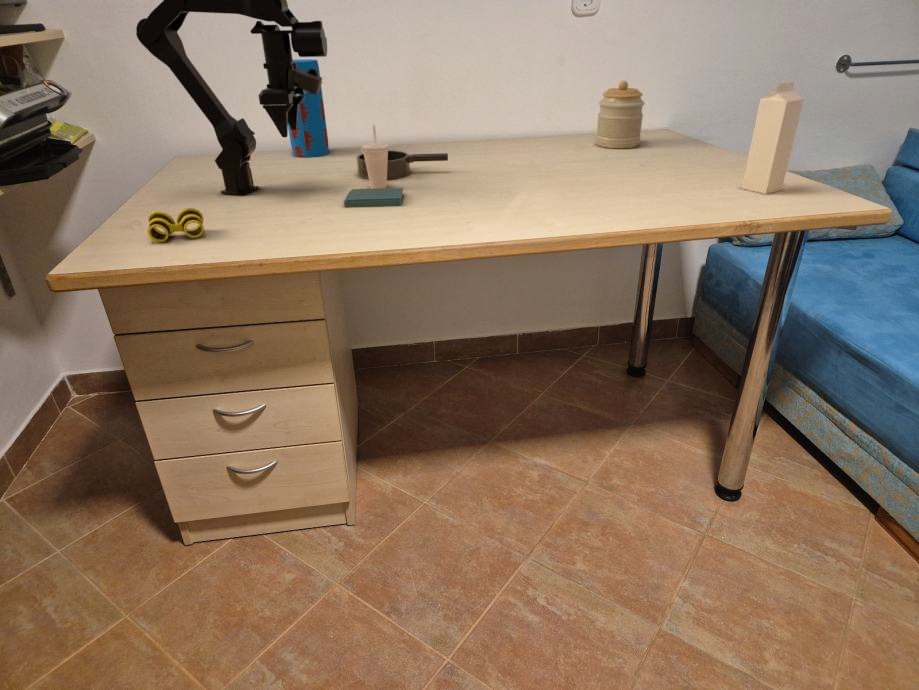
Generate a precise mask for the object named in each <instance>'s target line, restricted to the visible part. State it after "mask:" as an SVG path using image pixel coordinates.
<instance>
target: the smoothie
mask: <svg viewBox="0 0 919 690" xmlns="http://www.w3.org/2000/svg"><path fill="white" fill-rule="evenodd" d="M372 135H373V142H370V143H364V144H362V145H361V152H362V154H363V153H364V158H365V163H366V167H367V172H368V177H369V180H368V181H369V185H370V189H377V188H388V187H387V184H388V183H387V182H388V180H387V162H388V151H390V145H389V144H388V143H385V142H377V129H376V125H375V124H373V125H372Z"/></svg>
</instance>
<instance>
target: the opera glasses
mask: <svg viewBox="0 0 919 690" xmlns="http://www.w3.org/2000/svg"><path fill="white" fill-rule="evenodd" d="M147 222H148V229H147V235H148V237H149V238H150V239H151V240H152V241H154V242H156V243H164V242H166V241H167V240H168V238H169V237H170V236H171V235H172V234H174V233H176V232H181V233H182V232H183V233H185V235H186V236H187V237H189V238H192V239H195V238H196V239H197V238H199V237H201V236H202V235H203V234H204V232H205V227H204V216H203V213H202V212H201V211H200V210H199V209H198V208H195V207H186V208H183V209H182V210H181V211H179V213H178V214H177V217H176V221H175V219H174V218H173V217H172V215H170V214H169V213H167V212H165V211H159V210H158V211H157V210H156V211H153V212H152V213H150V214H149V216H148V219H147ZM190 224H197V225H196V226H195V227H193V228H187V227H188V226H189V225H190ZM158 228H159V229H158ZM160 229H162V230H160Z"/></svg>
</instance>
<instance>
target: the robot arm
mask: <svg viewBox="0 0 919 690" xmlns="http://www.w3.org/2000/svg"><path fill="white" fill-rule="evenodd" d="M190 13H203V14H204V13H205V14H206V13H209V14H230V15H232V14H233V15H241V16H245V17H248V18H252V19H256V22H255V24H254V26H253V27H252V28H251V29H250V34H252V35H261V40H262V47H263V54H264V60H265V62H264V63H262V65H263V70H264V69H265V70H266V75H267V81H268V83H267V84H266V88H264V89H261V91H260V92H259V93H258V101H259V105H261V106H262V109H264V110H265V112H266V113H267V115H268V116H269V118H270V120H271V121H272V122H273V124H274V126H275V128H276V129H277V131H278V133H279V134H280V136H281V137H282V138H287V137H288V136H289V135H288V134H289V129H288V124H289V126H290V128H291V129H292V130H296V129H297V118H298V108H299V104H300V103H301V101H302V100H303V99H304V98H305V96H299V94H302V95H305V94H307V93H306V91H309V93H312V94H315V95H316V94H317V93H319V91H320V87H321V88H322V84H323V78H322V76H320V77H319V73H318V70H316V69H313V68H311V69H310V70H309V71H308V72H306V71H301V70H298V69H297V63H295V62H293V60H294V59H293V52H294V53H297V55H298V57H300V58H319V57H320V58H321V57H323V58H325V57H327V56H328V38H327V37H326V32H325V29H324V27H323V26H324V25H323V21H322V20H313V21H299V20H298V18H296V16H295V15H294V13H293V12H292V10H290V8H289V4H288V1H287V0H162V1H161V2H160V3H159V4H158V5H157V6H156V7H155V8H154V9H153V10H152V11H151V12H150V13H149V15H148V16H147V17H145V18H142V19H140V20H139V21H138V22H137V25H136V28H135V29H136V31H135V34H136V38H137V40H138V41H139V43H140V44H141V45H142V46H143V47H144V48H145V49H146V50H147V51H148V52H149V53H150V54H151V55H152V56H153V57H155V58H156V59H157V60H159V61H160V62H161V63H163V65H165V66H167V67H168V68H169V70H170V71H171V72H172V74H173V75H174V76H175V78H176V79H177V80H178V82H179V83H180V85H181V86H182V87H183V89H184V90H185V91H186V93H187V94H188V95H189V97H190V98H191V99H192V101H194V103H195V104H196V105H197V107H198V108H199V110H200V111H201V112H202V113H203V115H204V117H206V119H207V120H208V122H210V124H211V125H212V128H213V130H214V132H215V136H216V139H217V142H218V143H219V146H220V147H221V149H222V150H221V151H220V152H219V154H218V155H217V156H216V158H215V159H214V162H215V164H216V166H217V167H218V169H219V170H221V174H222V179H223V184H224V188H225V189H222V190H221V191H220V193H221V194H222V195H223V194H224V195H234V196H235V195H237V196H244V195H247V194H250V193H252V192H254V191H256V190H259V189H260V186H259V185H254V179H253V173H252V169H251V166H250V160H251V158H252V157H251V156H252V154H253V153H254V152H255V150H256V148H257V140H256V137H255V136H254V135H256V133H255V131H253V130H252V129H251V128H250V127H249V125H248V123H247V121H246V120H245V118H243V117H242V118H241V119H238V120H237V119H236V118H235V117H233V116H232V115H231V114H230V113H229V111H228V110H227V109H226V107H225V106H224V105H223V104H222V102H221V101H220V99H219V98H218V97H217V95H216V94H215V92H214V91H213V90H212V89H211V87H210V86H209V85H208V83H207V82H206V80H205V78H204V77H203V76H202V75H201V74H200V72H199V70H198V69H197V68H196V67H195V65H194V64H193V62H192V61H191V60H190V59H189V57H188V55H187V52H186V49H185V46H184V43H183V41H182V38H181V37H180V35H179V33H178V31H179V30H180V29H181V28H182V26H183V25H184V22H185V20H186V18H187V16H188V15H189V14H190ZM262 21H264V22H274V23H275V24H264V23H263V22H262ZM280 27H284V28H290V27H291V29H281V28H280ZM292 51H293V52H292Z"/></svg>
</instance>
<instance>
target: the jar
mask: <svg viewBox="0 0 919 690" xmlns="http://www.w3.org/2000/svg"><path fill="white" fill-rule="evenodd" d="M643 94H644V93H642V92H641V91H639V89H638V88H633V87H629V83H628V81H626V80H621V81H620V82H619V83H618V87H613V88H608V89H607V90H606V91H604V92H603V93H602V96H603V98H602V99H601V100H600V101H599V102H598V105H599V106H600V107H599V113H597V128H596V134H595V143H596V146H599V147H602V148H608V149H631V148H636V147H638V146H640V142H641V132H642V123H643V118H644V114H643V107H644V105H645V104H646V103H645V101H644V100H642V97H643Z"/></svg>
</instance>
